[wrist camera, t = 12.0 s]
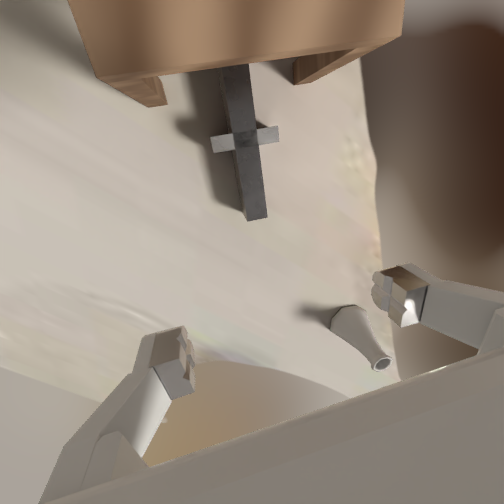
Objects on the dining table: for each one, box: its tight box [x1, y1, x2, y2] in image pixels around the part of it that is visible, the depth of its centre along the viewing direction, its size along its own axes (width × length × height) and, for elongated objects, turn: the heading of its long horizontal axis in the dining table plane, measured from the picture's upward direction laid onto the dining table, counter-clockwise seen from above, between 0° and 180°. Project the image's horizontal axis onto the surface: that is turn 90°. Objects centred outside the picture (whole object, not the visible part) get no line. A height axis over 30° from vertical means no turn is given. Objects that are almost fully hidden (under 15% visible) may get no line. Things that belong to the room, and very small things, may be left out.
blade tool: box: [210, 64, 279, 222], centre depth 23 cm, size 8×30×4 cm, turn 9°
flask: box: [330, 305, 393, 372], centre depth 40 cm, size 7×7×10 cm
